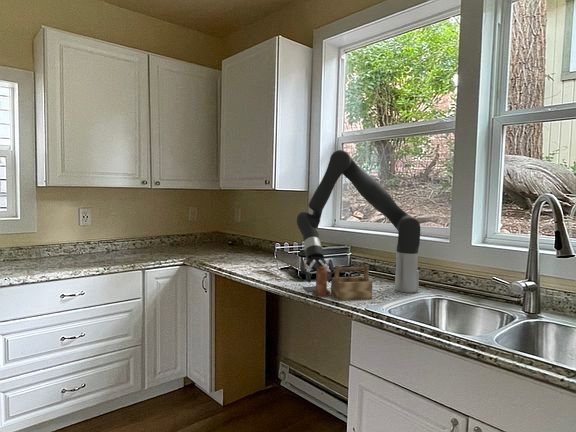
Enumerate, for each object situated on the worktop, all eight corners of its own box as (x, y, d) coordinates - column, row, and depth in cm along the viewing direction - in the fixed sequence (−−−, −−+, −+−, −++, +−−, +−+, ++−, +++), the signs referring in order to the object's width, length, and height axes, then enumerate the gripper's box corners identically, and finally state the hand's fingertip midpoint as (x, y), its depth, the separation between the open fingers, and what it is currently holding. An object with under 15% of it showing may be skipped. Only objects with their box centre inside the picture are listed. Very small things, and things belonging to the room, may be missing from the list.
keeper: (327, 294, 168) (327, 289, 168) (330, 296, 164) (330, 291, 164) (311, 294, 166) (312, 289, 166) (314, 297, 162) (314, 292, 162)
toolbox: (361, 292, 171) (362, 262, 170) (371, 298, 162) (373, 267, 161) (330, 293, 168) (331, 263, 167) (339, 300, 158) (340, 267, 158)
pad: (319, 287, 179) (319, 286, 179) (325, 291, 172) (325, 290, 172) (302, 287, 178) (302, 286, 178) (307, 292, 170) (307, 291, 170)
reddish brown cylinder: (323, 294, 167) (324, 266, 166) (326, 296, 164) (327, 267, 163) (315, 294, 166) (316, 266, 165) (318, 296, 163) (319, 267, 162)
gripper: (299, 244, 170) (305, 276, 160) (331, 244, 173) (338, 276, 163) (296, 254, 176) (301, 286, 165) (326, 254, 179) (333, 286, 168)
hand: (319, 281), depth 164 cm, fingers open, 8 cm apart
